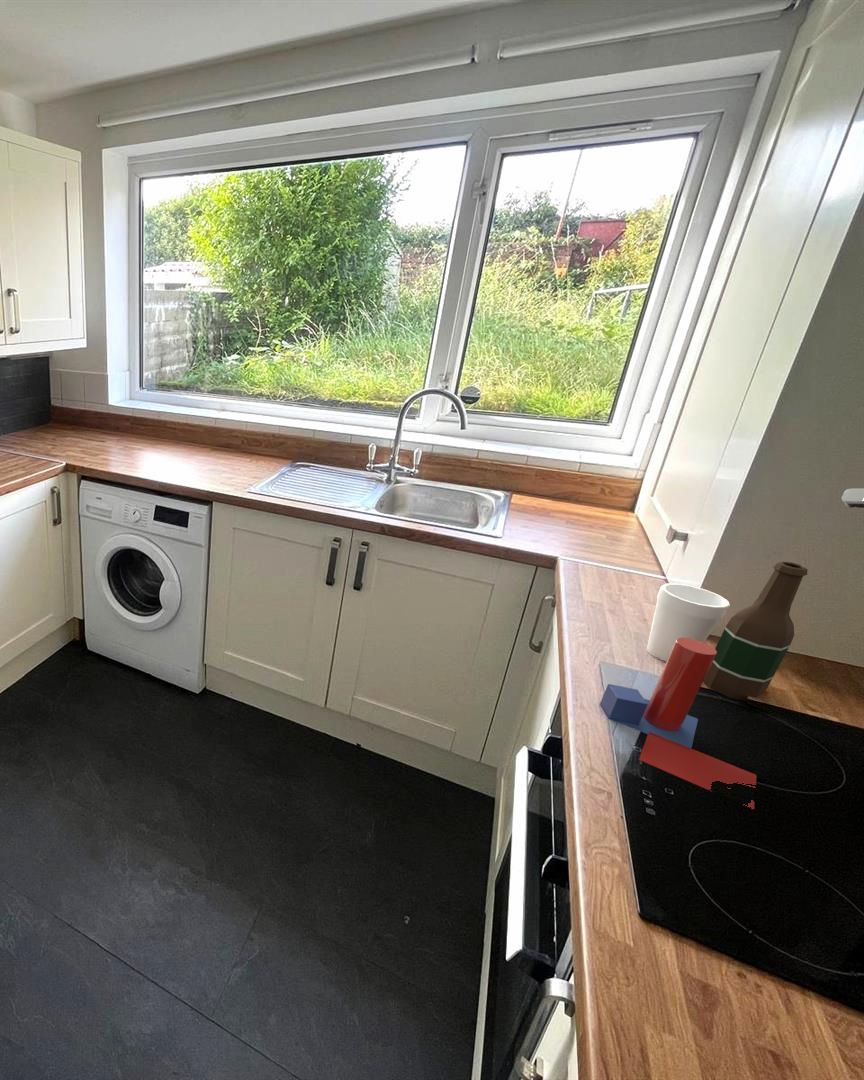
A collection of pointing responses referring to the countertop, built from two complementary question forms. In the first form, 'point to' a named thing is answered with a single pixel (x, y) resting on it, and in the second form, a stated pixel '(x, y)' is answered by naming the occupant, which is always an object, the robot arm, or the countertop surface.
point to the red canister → (679, 683)
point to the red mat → (692, 764)
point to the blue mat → (681, 736)
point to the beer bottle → (757, 638)
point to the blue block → (623, 704)
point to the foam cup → (683, 616)
